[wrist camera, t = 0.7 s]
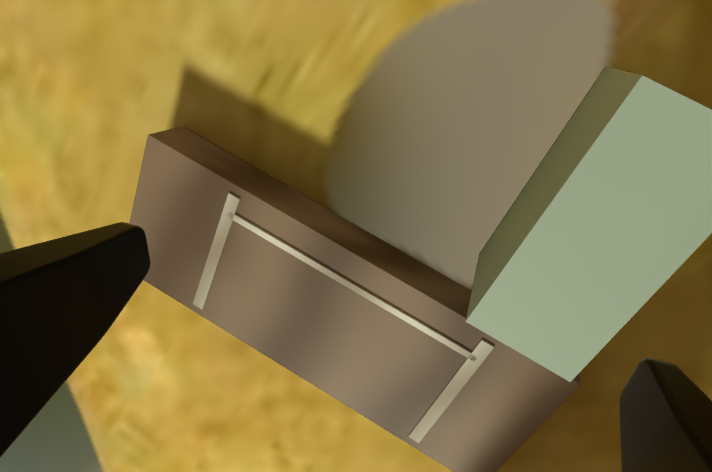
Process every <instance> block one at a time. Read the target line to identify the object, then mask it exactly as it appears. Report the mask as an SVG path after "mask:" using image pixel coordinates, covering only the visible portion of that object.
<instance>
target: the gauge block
mask: <svg viewBox="0 0 712 472" xmlns="http://www.w3.org/2000/svg"><path fill="white" fill-rule="evenodd" d="M711 233H712V110H711V109H709V108H707V107H705V106H703V105H701V104H699V103H697V102H695V101H693V100H691V99H689V98H687V97H685V96H683V95H681V94H679V93H677V92H675V91H673V90H671V89H669V88H667V87H665V86H663V85H661V84H659V83H657V82H655V81H653V80H651V79H649V78H647V77H645V76H643V75H639V74H635V73H631V72H627V71H623V70H619V69H615V68H611V67H606V66H605V68H604V69H603V71H602V72H601V74H600V75H599V77H598V78H597V80H596V81H595V83H594V84H593V86H592V87H591V88H590V90H589V92H588V93H587V94H586V96H585V97H584V99H583V101H582V102H581V103H580V105H579V106H578V108H577V110H576V111H575V112H574V114H573V115H572V117H571V118H570V120H569V121H568V123H567V124H566V126H565V127H564V129H563V130H562V132H561V133H560V135H559V136H558V138H557V139H556V141H555V142H554V143H553V145H552V146H551V148H550V149H549V151H548V152H547V154H546V156H545V157H544V158H543V160H542V161H541V163H540V164H539V166H538V168H537V169H536V170H535V172H534V173H533V175H532V176H531V178H530V179H529V181H528V182H527V184H526V185H525V187H524V188H523V190H522V191H521V193H520V194H519V196H518V197H517V198H516V200H515V202H514V203H513V204H512V206H511V207H510V209H509V210H508V212H507V213H506V215H505V216H504V218H503V219H502V221H501V222H500V224H499V225H498V227H497V228H496V230H495V231H494V233H493V234H492V236H491V237H490V239H489V240H488V242H487V243H486V245H485V246H484V248H483V249H482V251H481V252H480V253H479V258H478V263H477V268H476V273H475V278H474V283H473V287H472V292H471V297H470V302H469V307H468V312H467V317H466V322H467V323H469V324H471V325H472V326H474V327H476V328H478V329H479V330H481V331H483V332H484V333H486V334H488V335H490V336H491V337H493V338H495V339H497V340H498V341H500V342H502V343H503V344H505V345H507V346H509V347H510V348H512V349H514V350H516V351H517V352H519V353H521V354H522V355H524V356H526V357H528V358H529V359H531V360H533V361H535V362H536V363H538V364H540V365H541V366H543V367H545V368H547V369H548V370H550V371H552V372H554V373H555V374H557V375H559V376H560V377H562V378H564V379H566V380H567V381H569V382H571V381H572V380H573V379H574V378H575V377H576V376H577V375H578V374H579V373H580V371H581V370H582V369H583V368H584V367H585V366H586V365H587V364H588V363H589V362H590V361H591V360H592V359H593V358H594V357H595V356H596V355H597V354H598V352H599V351H600V350H601V349H602V348H603V347H604V346H605V345H606V344H607V343H608V342H609V341H610V340H611V339H612V338H613V337H614V336H615V335H616V334H617V332H618V331H619V330H620V329H621V328H622V327H623V326H624V325H625V324H626V323H627V322H628V321H629V320H630V319H631V318H632V317H633V316H634V315H635V313H636V312H637V311H638V310H639V309H640V308H641V307H642V306H643V305H644V304H645V303H646V302H647V301H648V300H649V299H650V298H651V297H652V296H653V294H654V293H655V292H656V291H657V290H658V289H659V288H660V287H661V286H662V285H663V284H664V283H665V282H666V281H667V280H668V279H669V278H670V277H671V275H672V274H673V273H674V272H675V271H676V270H677V269H678V268H679V267H680V266H681V265H682V264H683V263H684V262H685V261H686V260H687V259H688V258H689V256H690V255H691V254H692V253H693V252H694V251H695V250H696V249H697V248H698V247H699V246H700V245H701V244H702V243H703V242H704V241H705V240H706V239H707V237H708V236H709V235H710V234H711Z"/></svg>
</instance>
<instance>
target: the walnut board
mask: <svg viewBox="0 0 712 472" xmlns="http://www.w3.org/2000/svg"><path fill="white" fill-rule="evenodd" d="M129 224H133V225H136V226H140V227H141V228H143V230H144V231H145V234H146V239H147V244H148V250H149V255H150V261H151V262H150V268H149V271H148V273H147V275H146V276H145V278H144V279H143V280H144V281H146V282H148V283H149V284H151V285H152V286H154V287H156V288H157V289H159V290H161V291H162V292H164V293H165V294H167V295H169V296H170V297H172V298H174V299H175V300H177V301H178V302H180V303H182V304H183V305H185V306H186V307H188V308H190V309H191V310H193V311H195V312H196V313H198V314H199V315H201V316H203V317H204V318H206V319H207V320H209V321H211V322H212V323H214V324H216V325H217V326H219V327H220V328H222V329H224V330H225V331H227V332H228V333H230V334H232V335H233V336H235V337H237V338H238V339H240V340H241V341H243V342H245V343H246V344H248V345H250V346H251V347H253V348H254V349H256V350H258V351H259V352H261V353H262V354H264V355H266V356H267V357H269V358H271V359H272V360H274V361H275V362H277V363H279V364H280V365H282V366H283V367H285V368H287V369H288V370H290V371H292V372H293V373H295V374H296V375H298V376H300V377H301V378H303V379H305V380H306V381H308V382H309V383H311V384H313V385H314V386H316V387H317V388H319V389H321V390H322V391H324V392H326V393H327V394H329V395H330V396H332V397H334V398H335V399H337V400H338V401H340V402H342V403H343V404H345V405H347V406H348V407H350V408H351V409H353V410H355V411H356V412H358V413H359V414H361V415H363V416H364V417H366V418H368V419H369V420H371V421H372V422H374V423H376V424H377V425H379V426H381V427H382V428H384V429H385V430H387V431H389V432H390V433H392V434H393V435H395V436H397V437H398V438H400V439H402V440H403V441H405V442H406V443H408V444H410V445H411V446H413V447H414V448H416V449H418V450H419V451H421V452H423V453H424V454H426V455H427V456H429V457H431V458H432V459H434V460H436V461H437V462H439V463H440V464H442V465H444V466H445V467H447V468H448V469H450V470H452V471H453V472H496V471H497V470H498V469H499V468H500V467H501V466H502V465H503V464H504V463H505V462H506V461H507V460H508V459H509V457H510V456H511V455H512V454H513V453H514V452H515V451H516V450H517V449H518V448H519V447H520V446H521V445H522V444H523V443H524V442H525V441H526V440H527V439H528V438H529V437H530V436H531V435H532V434H533V433H534V432H535V431H536V430H537V429H538V427H539V426H540V425H541V424H542V423H543V422H544V421H545V420H546V419H547V418H548V417H549V416H550V415H551V414H552V413H553V412H554V411H555V410H556V409H557V408H558V407H559V406H560V405H561V404H562V403H563V402H564V401H565V400H566V398H567V397H568V396H569V395H570V394H571V393H572V392H573V391H574V390H575V389H576V388H577V387H578V386H579V385H580V380H579V374H578V375H577V376H576V377H575V378H574V379H573V380H572V381H571V382H569V381H567V380H566V379H564V378H562V377H560V376H559V375H557V374H555V373H554V372H552V371H550V370H548V369H547V368H545V367H543V366H541V365H540V364H538V363H536V362H535V361H533V360H531V359H529V358H528V357H526V356H524V355H522V354H521V353H519V352H517V351H516V350H514V349H512V348H510V347H509V346H507V345H505V344H503V343H502V342H500V341H498V340H497V339H495V338H493V337H491V336H490V335H488V334H486V333H484V332H483V331H481V330H479V329H478V328H476V327H474V326H472V325H471V324H469V323H467V322H466V317H467V312H468V307H469V302H470V297H471V292H472V291H470V290H469V289H467V288H465V287H463V286H462V285H460V284H458V283H456V282H455V281H453V280H451V279H449V278H448V277H446V276H444V275H442V274H441V273H439V272H437V271H435V270H434V269H432V268H430V267H428V266H427V265H425V264H423V263H421V262H420V261H418V260H416V259H414V258H413V257H411V256H409V255H407V254H406V253H404V252H402V251H400V250H399V249H397V248H395V247H393V246H391V245H390V244H388V243H386V242H384V241H383V240H381V239H379V238H377V237H376V236H374V235H372V234H370V233H369V232H367V231H365V230H363V229H362V228H360V227H358V226H356V225H355V224H353V223H351V222H349V221H348V220H346V219H344V218H342V217H341V216H339V215H337V214H335V213H334V212H332V211H330V210H328V209H327V208H325V207H323V206H321V205H320V204H318V203H316V202H314V201H313V200H311V199H309V198H307V197H306V196H304V195H302V194H300V193H299V192H297V191H295V190H293V189H291V188H290V187H288V186H286V185H284V184H283V183H281V182H279V181H277V180H276V179H274V178H272V177H270V176H269V175H267V174H265V173H263V172H262V171H260V170H258V169H256V168H255V167H253V166H251V165H249V164H248V163H246V162H244V161H242V160H241V159H239V158H237V157H235V156H234V155H232V154H230V153H228V152H227V151H225V150H223V149H221V148H220V147H218V146H216V145H214V144H213V143H211V142H209V141H207V140H206V139H204V138H202V137H200V136H199V135H197V134H195V133H193V132H192V131H190V130H188V129H186V128H184V127H183V126H182V127H178V128H174V129H170V130H166V131H161V132H157V133H153V134H149V135H148V138H147V143H146V147H145V152H144V157H143V162H142V166H141V171H140V176H139V180H138V185H137V190H136V195H135V199H134V204H133V209H132V213H131V218H130V223H129Z"/></svg>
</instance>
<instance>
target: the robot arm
mask: <svg viewBox="0 0 712 472" xmlns="http://www.w3.org/2000/svg"><path fill="white" fill-rule="evenodd" d="M150 262H151V261H150V255H149V250H148V244H147V239H146V234H145V231H144V230H143V228H141V227H140V226H136V225H133V224H129V223H124V222H120V223H116V224H112V225H108V226H104V227H100V228H96V229H92V230H89V231H85V232H81V233H77V234H73V235H69V236H65V237H62V238H58V239H54V240H50V241H46V242H42V243H39V244H35V245H31V246H27V247H23V248H19V249H15V250H12V251H8V252H4V253H0V458H1V456H2V455H3V454H4V453H5V452H6V450H7V449H8V448H9V447H10V446H11V445H12V443H13V442H14V441H15V440H16V439H17V438H18V436H19V435H20V434H21V433H22V432H23V430H24V429H25V428H26V427H27V425H29V423H30V422H31V421H32V420H33V419H34V418H35V416H36V415H37V414H38V413H39V412H40V410H41V409H42V408H43V407H44V406H45V405H46V403H47V402H48V401H49V400H50V399H51V398H52V396H53V395H54V394H55V393H56V392H57V390H58V389H59V388H60V387H61V386H62V385H63V384H64V382H65V381H66V380H67V379H68V378H69V376H70V375H71V374H72V373H73V372H74V371H75V369H76V368H77V367H78V366H79V365H80V364H81V362H82V361H83V360H84V359H85V358H86V356H87V355H88V354H89V353H90V352H91V351H92V349H93V348H94V347H95V346H96V345H97V343H98V342H99V341H100V340H101V339H102V337H103V336H104V335H105V333H106V332H107V331H108V329H109V328H110V327H111V325H112V324H113V322H114V321H115V320H116V318H117V317H118V315H119V314H120V312H121V311H122V309H123V308H124V307H125V305H126V304H127V302H128V301H129V299H130V298H131V296H132V295H133V294H134V292H135V291H136V289H137V288H138V286H139V285H140V284H141V282H142V281H143V279H144V278H145V276H146V275H147V273H148V271H149V268H150ZM620 435H621V464H622V472H712V401H711V400H710V399H709V398H708V397H707V396H706V395H705V394H704V393H703V392H702V391H701V390H700V389H699V388H698V387H697V386H696V385H695V384H694V383H693V382H692V381H691V380H690V379H689V378H688V377H687V376H686V375H685V374H684V373H683V372H682V371H681V370H680V369H679V368H678V367H677V366H676V365H674V364H671V363H668V362H664V361H660V360H656V359H652V358H646V359H643V360H642V361H641V362H640V363H639V365H638V366H637V368H636V370H635V371H634V373H633V375H632V376H631V378H630V379H629V381H628V383H627V384H626V386H625V388H624V389H623V391H622V394H621V397H620Z"/></svg>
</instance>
